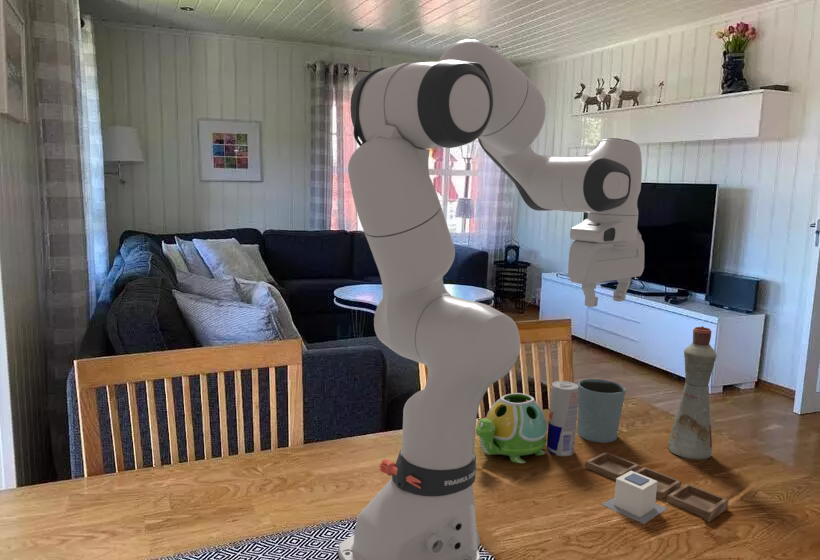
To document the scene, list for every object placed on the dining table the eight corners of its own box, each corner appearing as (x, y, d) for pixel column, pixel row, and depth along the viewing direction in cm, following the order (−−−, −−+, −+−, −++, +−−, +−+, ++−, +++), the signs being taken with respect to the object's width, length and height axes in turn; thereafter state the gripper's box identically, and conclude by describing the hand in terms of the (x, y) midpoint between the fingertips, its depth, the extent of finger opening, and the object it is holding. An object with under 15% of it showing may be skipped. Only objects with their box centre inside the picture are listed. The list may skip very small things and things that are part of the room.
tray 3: (708, 522, 108) (709, 512, 107) (666, 504, 113) (667, 495, 113) (726, 508, 112) (728, 499, 112) (686, 492, 118) (687, 483, 118)
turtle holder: (454, 455, 130) (457, 399, 128) (513, 435, 142) (517, 383, 140) (498, 478, 121) (502, 419, 119) (558, 455, 132) (562, 400, 130)
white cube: (639, 517, 107) (642, 488, 107) (613, 505, 111) (616, 477, 110) (654, 507, 111) (657, 480, 110) (628, 496, 114) (631, 469, 114)
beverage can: (571, 448, 136) (576, 381, 133) (575, 459, 130) (581, 389, 128) (544, 446, 136) (549, 379, 134) (547, 457, 131) (553, 387, 128)
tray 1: (618, 484, 120) (619, 475, 120) (584, 469, 126) (585, 461, 125) (638, 473, 125) (639, 464, 125) (605, 459, 130) (605, 451, 130)
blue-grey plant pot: (566, 437, 141) (570, 385, 139) (584, 424, 149) (588, 375, 147) (611, 450, 135) (616, 396, 133) (627, 436, 143) (632, 385, 141)
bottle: (657, 450, 136) (670, 323, 132) (682, 442, 141) (696, 319, 136) (694, 466, 129) (709, 332, 124) (719, 457, 134) (735, 328, 129)
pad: (643, 527, 105) (643, 523, 105) (601, 507, 111) (601, 504, 111) (666, 511, 111) (667, 508, 111) (625, 493, 117) (625, 490, 116)
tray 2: (660, 502, 114) (661, 493, 114) (623, 486, 119) (624, 477, 119) (680, 490, 119) (681, 481, 118) (643, 475, 124) (644, 466, 124)
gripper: (626, 226, 126) (620, 295, 128) (564, 230, 112) (558, 306, 115) (656, 229, 121) (649, 300, 123) (595, 233, 108) (589, 312, 110)
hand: (605, 303), depth 119 cm, fingers open, 8 cm apart
